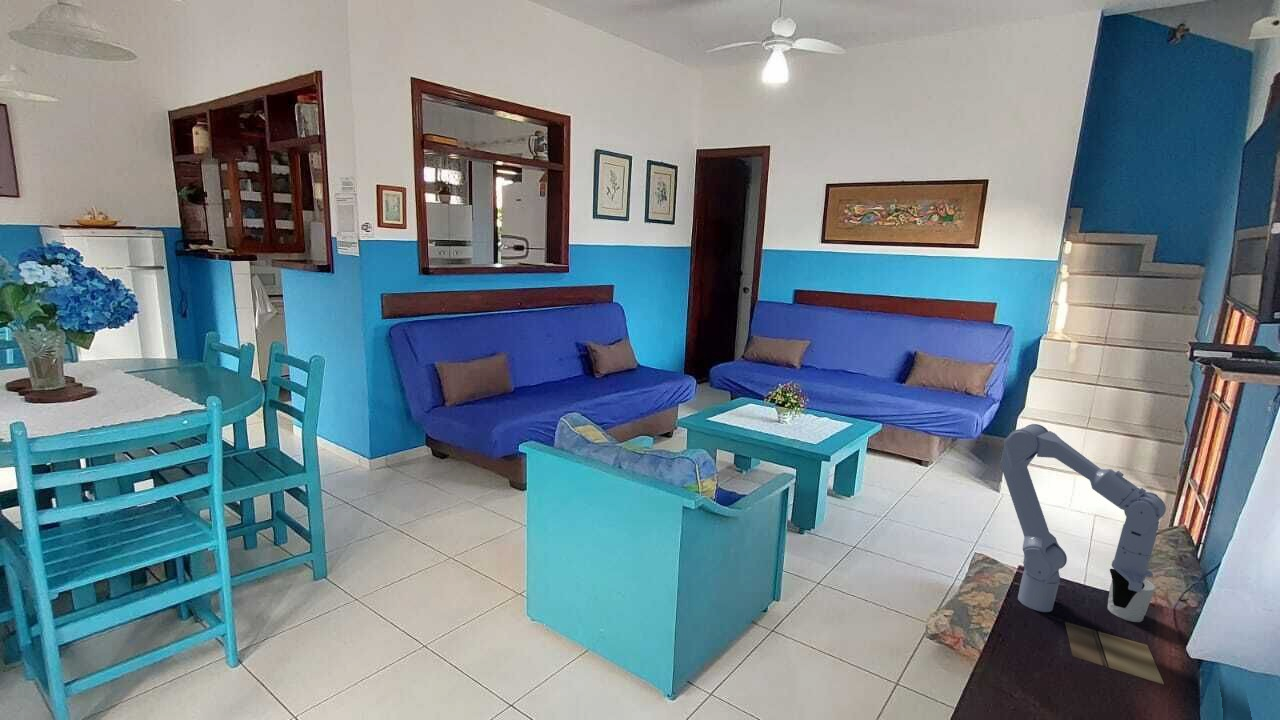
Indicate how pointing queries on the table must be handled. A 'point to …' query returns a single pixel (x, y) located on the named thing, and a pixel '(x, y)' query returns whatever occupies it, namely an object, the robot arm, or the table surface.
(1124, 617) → the white cup
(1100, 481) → the robot arm
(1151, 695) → the table surface
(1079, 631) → the walnut board
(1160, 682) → the oak plank
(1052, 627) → the table surface
